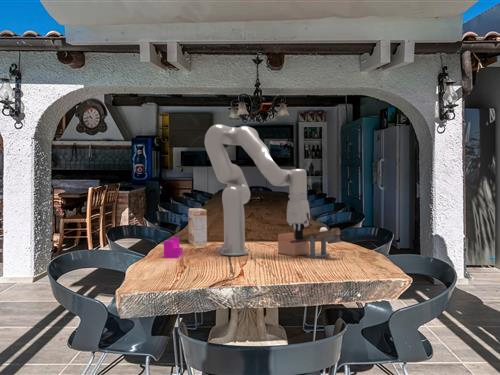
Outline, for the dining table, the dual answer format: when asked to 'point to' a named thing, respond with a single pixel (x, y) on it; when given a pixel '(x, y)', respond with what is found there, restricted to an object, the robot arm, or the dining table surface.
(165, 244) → the toy block
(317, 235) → the lever
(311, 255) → the stand
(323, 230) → the ball
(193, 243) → the coffeecake box
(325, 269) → the dining table surface
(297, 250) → the cup
